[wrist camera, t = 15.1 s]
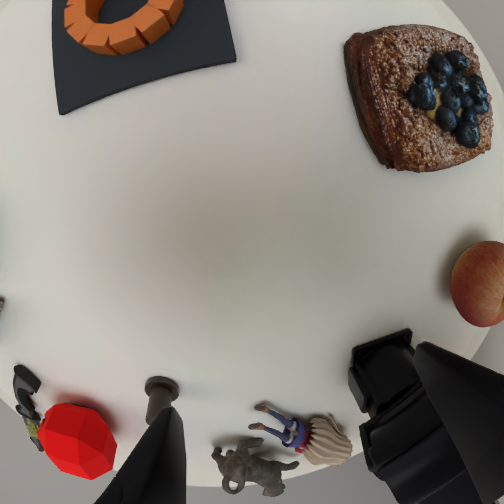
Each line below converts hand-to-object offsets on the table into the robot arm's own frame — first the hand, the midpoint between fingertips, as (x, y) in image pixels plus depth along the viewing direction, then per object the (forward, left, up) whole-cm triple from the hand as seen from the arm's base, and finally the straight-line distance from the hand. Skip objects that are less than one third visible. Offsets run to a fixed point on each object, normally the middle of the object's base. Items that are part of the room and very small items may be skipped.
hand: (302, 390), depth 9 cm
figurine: (-2, +21, -12) cm, 25 cm away
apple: (-20, +6, -12) cm, 24 cm away
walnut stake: (+11, +11, -12) cm, 20 cm away
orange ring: (+5, -19, -11) cm, 23 cm away
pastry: (-14, -10, -12) cm, 21 cm away
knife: (+31, +18, -11) cm, 38 cm away
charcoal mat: (+5, -19, -12) cm, 23 cm away
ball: (+23, +15, -12) cm, 30 cm away
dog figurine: (+5, +26, -12) cm, 29 cm away
